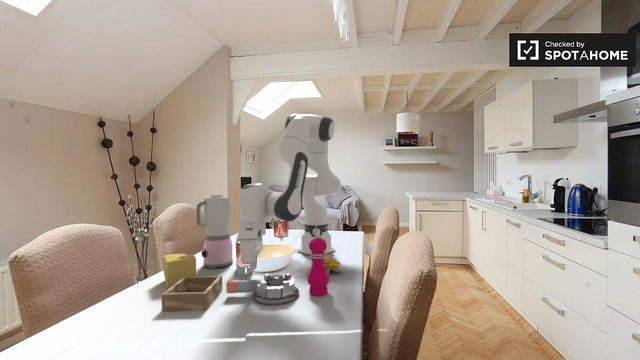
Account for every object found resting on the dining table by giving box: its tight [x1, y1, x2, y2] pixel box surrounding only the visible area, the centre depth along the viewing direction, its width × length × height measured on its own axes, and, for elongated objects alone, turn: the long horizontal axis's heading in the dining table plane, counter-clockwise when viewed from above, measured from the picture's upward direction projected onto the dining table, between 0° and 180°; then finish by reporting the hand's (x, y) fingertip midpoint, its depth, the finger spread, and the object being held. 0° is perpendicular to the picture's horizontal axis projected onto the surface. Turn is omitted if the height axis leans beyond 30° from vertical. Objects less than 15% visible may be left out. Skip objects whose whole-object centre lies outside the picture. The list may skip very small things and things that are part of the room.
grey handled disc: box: [226, 273, 296, 299], centre depth 95 cm, size 22×12×4 cm, turn 91°
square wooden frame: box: [161, 275, 223, 312], centre depth 92 cm, size 15×13×5 cm
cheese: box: [162, 253, 197, 290], centre depth 108 cm, size 10×11×10 cm
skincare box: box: [236, 233, 254, 276], centre depth 118 cm, size 8×7×16 cm
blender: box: [196, 193, 233, 270], centre depth 126 cm, size 16×12×32 cm
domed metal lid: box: [252, 274, 300, 306], centre depth 95 cm, size 15×15×6 cm
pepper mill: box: [307, 233, 330, 297], centre depth 96 cm, size 7×7×20 cm
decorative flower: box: [324, 253, 345, 275], centre depth 116 cm, size 15×11×10 cm
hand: (253, 269), depth 100 cm, fingers closed
